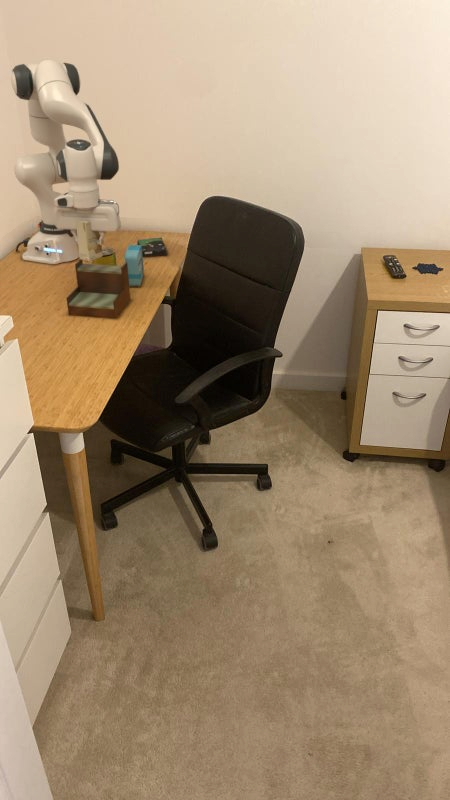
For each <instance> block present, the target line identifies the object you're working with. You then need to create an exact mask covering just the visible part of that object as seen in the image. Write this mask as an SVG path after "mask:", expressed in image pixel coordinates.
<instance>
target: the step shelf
mask: <svg viewBox="0 0 450 800" xmlns="http://www.w3.org/2000/svg"><path fill="white" fill-rule="evenodd" d="M74 268H75V276H76V284H77V286H76V287H75V288H74V289H73V291H71V292H70V294H68V296H66V306H67V312H68V314H67V315H68V316H77V317H87V318H88V317H90V318H100V319H101V318H102V319H114V320H115V319H116V320H117V319H118V318H119V317H120V315H121V314H122V312H123V311H124V310H125V308H126V307H127V305H129V303H130V302H131V291H130V286H129V277H128V265H127V262H125V261H124V263H123V264H122V265H117V266H111V265H96V264H90V263H83V260H82V259H80V258H79V260H77V262H75V264H74Z"/></svg>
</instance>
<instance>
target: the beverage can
mask: <svg viewBox="0 0 450 800" xmlns="http://www.w3.org/2000/svg"><path fill="white" fill-rule="evenodd" d="M89 264H96V265H111V266H118V265H117V255H116V249H114V248H113V247H108V246H102V257H100V258H97V259H95V260H92V261H89Z"/></svg>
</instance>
